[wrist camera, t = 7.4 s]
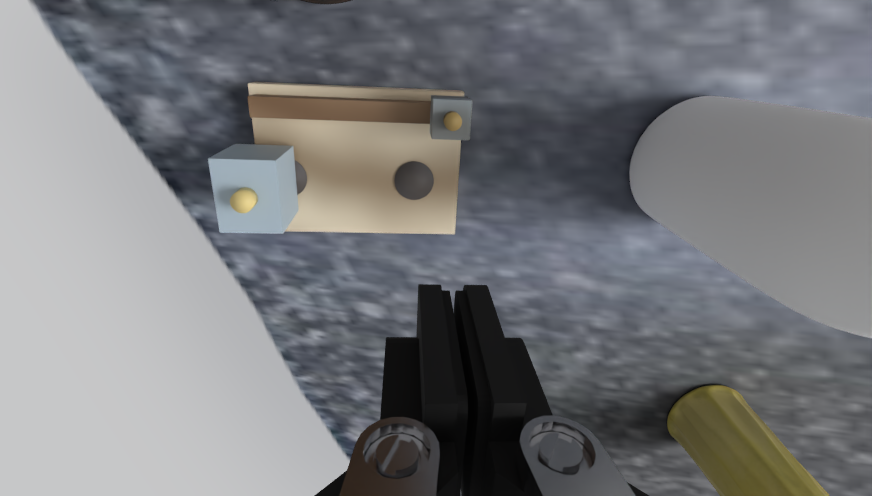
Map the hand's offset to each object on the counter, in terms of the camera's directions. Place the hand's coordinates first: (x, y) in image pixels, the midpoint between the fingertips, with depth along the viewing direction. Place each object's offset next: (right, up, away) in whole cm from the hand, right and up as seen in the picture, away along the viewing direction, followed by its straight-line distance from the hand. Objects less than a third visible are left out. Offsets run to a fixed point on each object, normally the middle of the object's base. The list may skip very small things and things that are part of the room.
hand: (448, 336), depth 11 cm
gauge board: (-5, +7, +15) cm, 17 cm away
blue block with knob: (-9, +6, +13) cm, 17 cm away
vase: (+21, -11, +25) cm, 34 cm away
